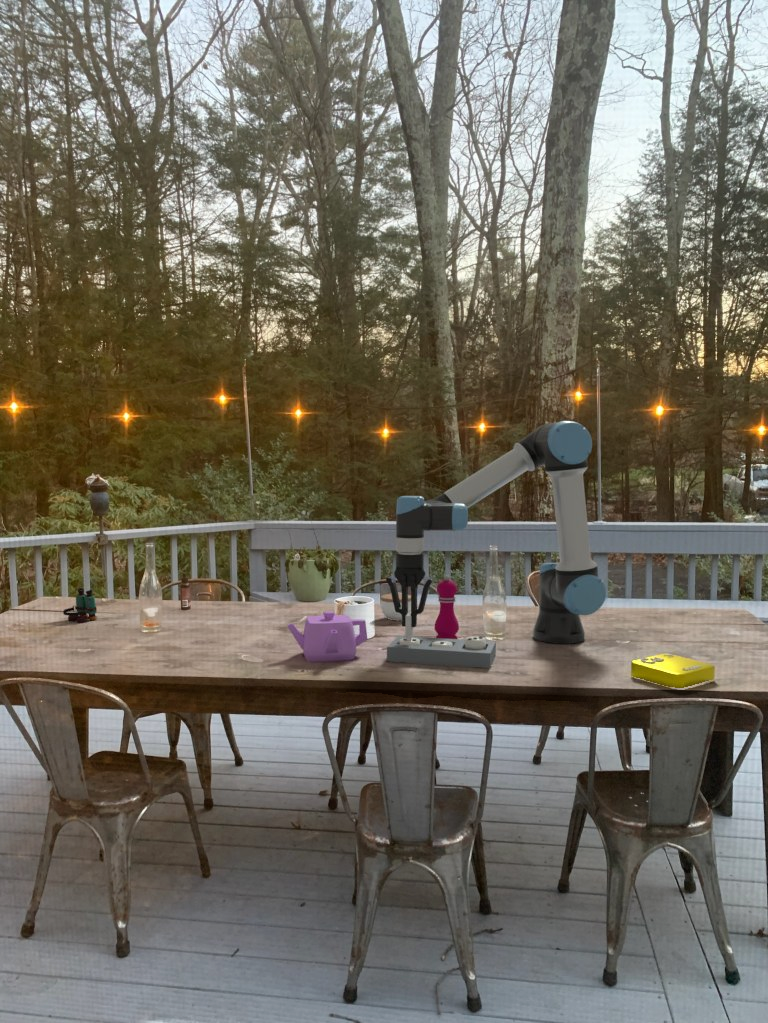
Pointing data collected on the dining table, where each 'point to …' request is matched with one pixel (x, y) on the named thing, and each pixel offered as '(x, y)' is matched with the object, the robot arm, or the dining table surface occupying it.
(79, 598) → the binoculars
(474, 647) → the button three dots
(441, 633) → the pepper mill
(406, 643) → the button two dots
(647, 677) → the element tile
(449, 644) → the button one dot
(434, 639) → the console
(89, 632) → the dining table surface
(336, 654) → the teakettle
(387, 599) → the lidded jar
